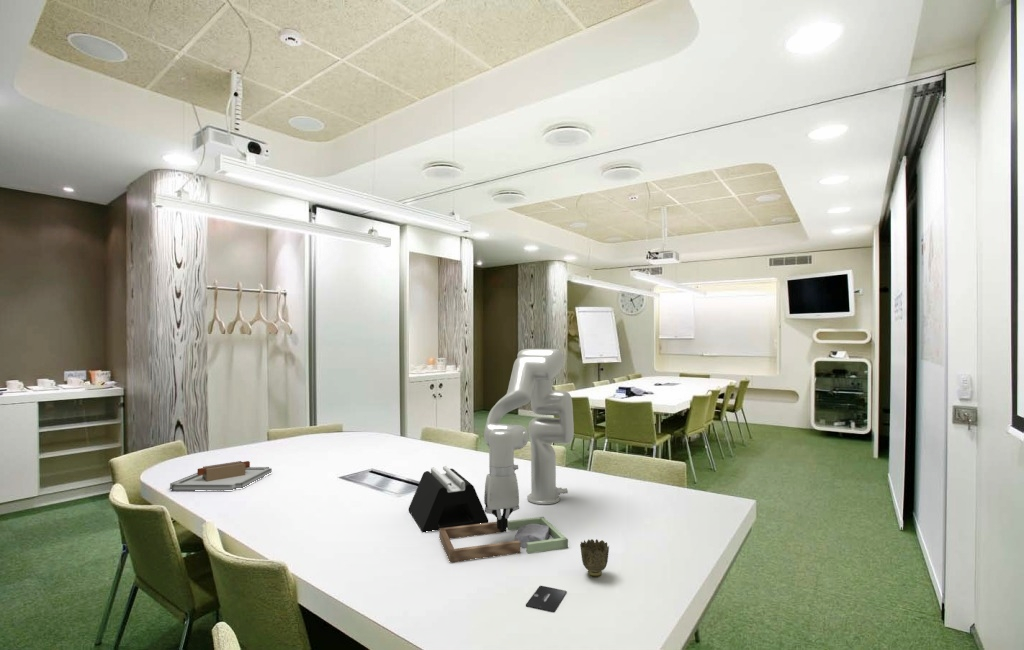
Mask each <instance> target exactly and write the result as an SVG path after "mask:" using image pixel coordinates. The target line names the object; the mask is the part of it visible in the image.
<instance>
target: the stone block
mask: <svg viewBox="0 0 1024 650" xmlns="http://www.w3.org/2000/svg"><path fill="white" fill-rule="evenodd" d="M549 536H550V535H549V526H544V525H539V524H529V525H525V526H521V527H520V529H517V531H516V532H515V536H514V541H518V540H519V541H520V549H526V543H527V542H535V541H542V540H549Z"/></svg>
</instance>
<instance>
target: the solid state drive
mask: <svg viewBox="0 0 1024 650" xmlns="http://www.w3.org/2000/svg"><path fill="white" fill-rule="evenodd" d="M567 592H568V591H567V590H565V589H559V588H554V587H550V586H545V585H539V586H538V588H537V589H536V590H535V592H533V594H532V595H531V597H530V598H529V600H528V601H527V602H526V603H525V607H527V608H530V609H534V610H540V611H545V612H548V613H555V612H556V610H557V609H558V608H559V606H560V605H561V603H562V601H563V600H564V598H565V596H566V595H567Z"/></svg>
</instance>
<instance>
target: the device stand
mask: <svg viewBox="0 0 1024 650" xmlns="http://www.w3.org/2000/svg"><path fill="white" fill-rule="evenodd" d="M442 470H443V471H444V472H445V473H441V472H440V471H439V470H438V469H436V468H435V467H431V468H430V471H429V470H428V471H424V472H423V474H422V475H421V478H420V480H419V483H418V486H417V487H416V489H415V492H414V494H413V497H412V499H411V502H410V504H409V507H408V511H409V512H410V514H411V516H412V518H413V519H414V521H415V523H416V524H417V525H418V527H419V529H420V530H421V532H422V533H423V532H425V533H427V532H426V531H431V532H433V531H432V530H438V531H439V528H447V527H456V526H464V525H473V524H480V523H489V518H488V516H487V513H486V512H485V508H484V506H483V504H482V503H481V502H482V501H481V500H480V498H479V495H478V494H477V491H476V489H475V486H474V485H473V484H472V483H471V482H470V481H469V480H467V479H466V478H465V477H464V476H462V475H461V474H460V473H458V471H456V470H455V469H454V468H449V467H448V466H447V465H445V466H443V467H442Z"/></svg>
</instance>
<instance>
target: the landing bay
mask: <svg viewBox="0 0 1024 650" xmlns="http://www.w3.org/2000/svg"><path fill="white" fill-rule="evenodd" d="M529 524H539V525H544V526H549V536H550V537H551V539H550V538H549V539H548V540H542V541H535V542H527V543H526V548H525V549H526V553H527V554H534V553H539V552H540V553H541V552H542V553H543V552H547V551H555V550H556V551H557V550H562V549H563V550H564V549H568V548H569V539H568V538H567V537H566V536H565V535H564V534H563V532H561V531H560V530H558V528H556V527H555V526H554V525H553V524H552V523H551V522H550V521H549V520H547V518H545V516H537V517H528V518H522V519H513V520H512V519H511V520H508V528H507V530H508V531H512V530H515V531H516V530H519V529H520V527H521V526H525V525H529Z"/></svg>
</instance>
